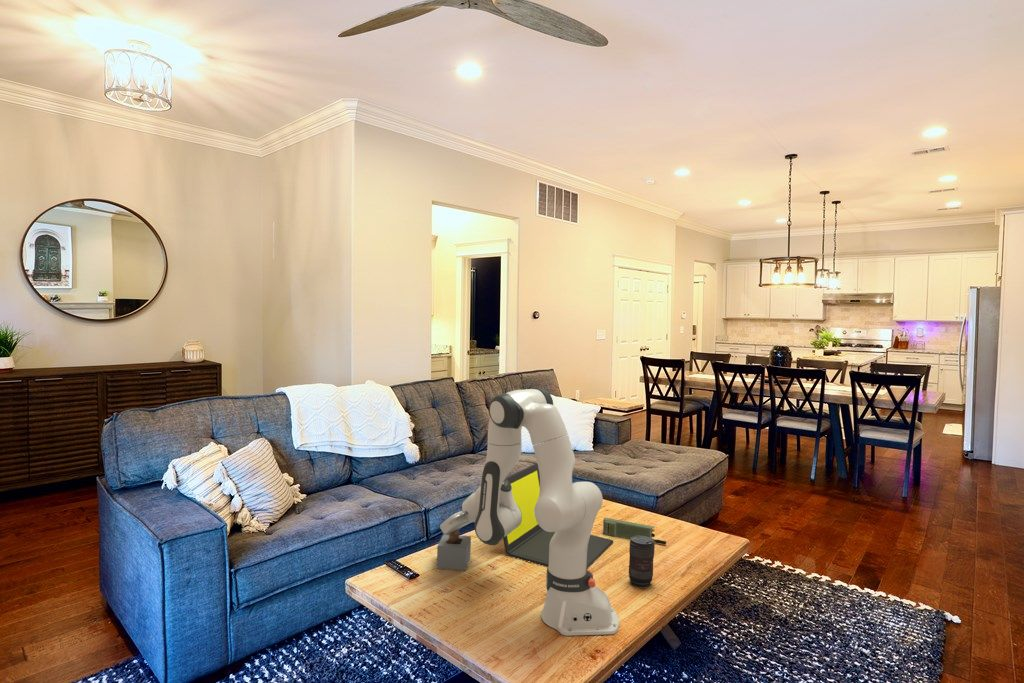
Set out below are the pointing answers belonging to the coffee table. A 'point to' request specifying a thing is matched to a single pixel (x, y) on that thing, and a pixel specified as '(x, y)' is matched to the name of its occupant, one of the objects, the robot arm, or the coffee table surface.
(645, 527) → the handheld radio
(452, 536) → the walnut peg
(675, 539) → the coffee table surface
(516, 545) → the laptop
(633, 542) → the camera lens
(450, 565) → the socket block
